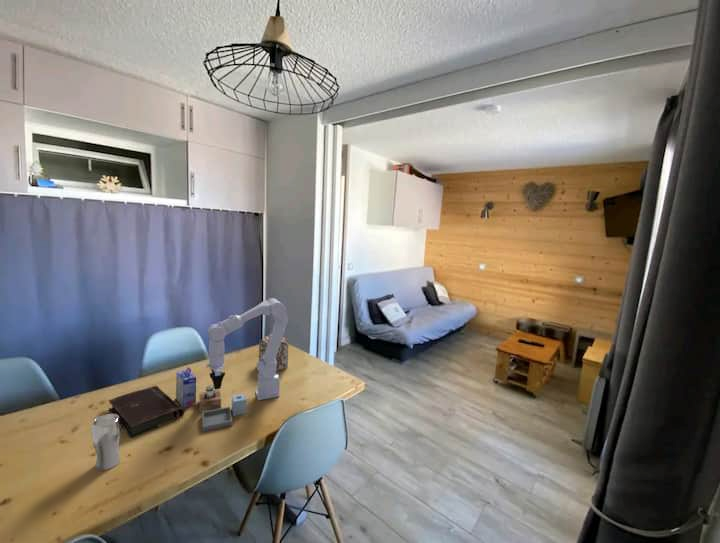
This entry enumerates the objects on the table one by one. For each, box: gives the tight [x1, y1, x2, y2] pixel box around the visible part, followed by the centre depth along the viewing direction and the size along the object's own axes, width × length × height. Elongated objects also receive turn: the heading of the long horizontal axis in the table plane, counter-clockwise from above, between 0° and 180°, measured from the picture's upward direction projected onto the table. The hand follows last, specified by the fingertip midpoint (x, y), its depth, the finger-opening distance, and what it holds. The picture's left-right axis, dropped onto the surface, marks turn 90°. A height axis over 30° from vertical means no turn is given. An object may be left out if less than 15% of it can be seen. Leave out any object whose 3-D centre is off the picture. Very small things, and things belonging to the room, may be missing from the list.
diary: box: [108, 385, 185, 439], centre depth 127 cm, size 19×25×5 cm
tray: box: [201, 406, 233, 433], centre depth 125 cm, size 10×10×2 cm
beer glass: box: [91, 413, 121, 472], centre depth 100 cm, size 7×7×15 cm
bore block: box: [198, 389, 222, 413], centre depth 136 cm, size 8×8×4 cm
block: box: [231, 393, 247, 416], centre depth 133 cm, size 5×5×6 cm
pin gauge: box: [205, 384, 215, 399], centre depth 136 cm, size 3×3×8 cm
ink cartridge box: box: [175, 366, 197, 409], centre depth 136 cm, size 10×6×14 cm, turn 45°
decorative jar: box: [258, 333, 289, 372], centre depth 173 cm, size 12×12×18 cm
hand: (217, 384), depth 134 cm, fingers open, 7 cm apart
